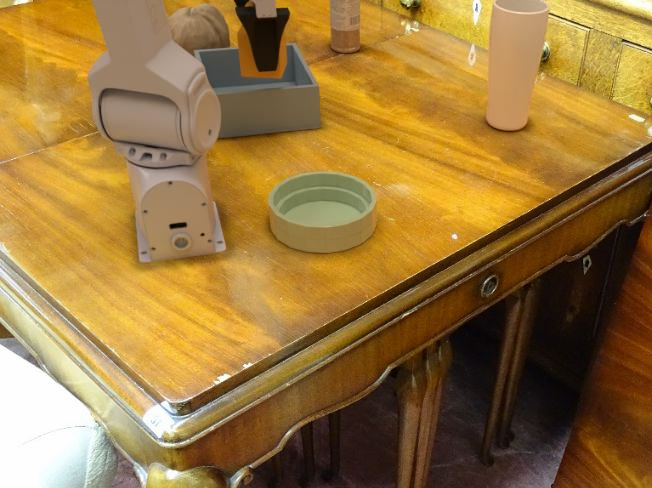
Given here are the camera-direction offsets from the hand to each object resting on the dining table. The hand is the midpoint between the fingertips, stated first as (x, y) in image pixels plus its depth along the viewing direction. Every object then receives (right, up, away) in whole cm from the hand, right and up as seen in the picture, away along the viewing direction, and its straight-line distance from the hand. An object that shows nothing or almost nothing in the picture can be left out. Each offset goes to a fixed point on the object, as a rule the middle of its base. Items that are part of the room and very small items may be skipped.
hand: (263, 59), depth 90 cm
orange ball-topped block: (0, -1, +1) cm, 1 cm away
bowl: (+9, -21, -11) cm, 25 cm away
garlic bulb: (-13, +4, +18) cm, 22 cm away
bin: (-3, -3, +9) cm, 10 cm away
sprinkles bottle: (+7, +11, +27) cm, 29 cm away
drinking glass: (+29, -5, +10) cm, 31 cm away
